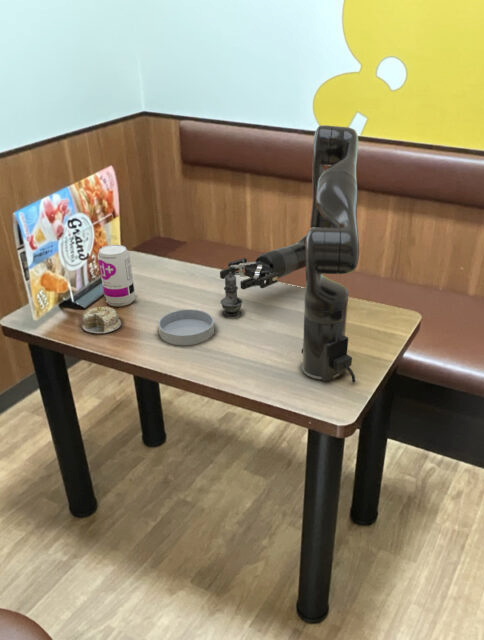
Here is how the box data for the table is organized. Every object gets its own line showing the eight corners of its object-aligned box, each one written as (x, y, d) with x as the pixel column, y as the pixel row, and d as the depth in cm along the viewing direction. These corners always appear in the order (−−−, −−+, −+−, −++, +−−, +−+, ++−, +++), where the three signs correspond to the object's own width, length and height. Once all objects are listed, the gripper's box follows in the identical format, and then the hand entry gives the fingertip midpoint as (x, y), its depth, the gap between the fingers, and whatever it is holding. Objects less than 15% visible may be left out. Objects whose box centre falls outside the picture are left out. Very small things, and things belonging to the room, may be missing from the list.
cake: (91, 316, 161) (88, 297, 159) (127, 320, 160) (125, 301, 158) (75, 332, 153) (72, 312, 150) (112, 336, 152) (110, 316, 149)
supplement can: (119, 310, 163) (111, 258, 155) (99, 302, 167) (90, 250, 159) (141, 299, 169) (135, 248, 160) (122, 291, 173) (114, 241, 164)
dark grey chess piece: (218, 310, 163) (216, 268, 157) (239, 307, 165) (238, 265, 158) (223, 320, 159) (221, 277, 152) (245, 316, 160) (244, 274, 154)
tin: (224, 334, 153) (224, 324, 151) (176, 351, 146) (175, 341, 144) (196, 313, 162) (195, 304, 160) (149, 328, 155) (148, 319, 153)
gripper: (260, 243, 168) (213, 258, 159) (295, 258, 159) (248, 275, 150) (260, 268, 172) (214, 285, 163) (295, 284, 163) (249, 302, 154)
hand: (230, 280), depth 156 cm, fingers open, 8 cm apart
